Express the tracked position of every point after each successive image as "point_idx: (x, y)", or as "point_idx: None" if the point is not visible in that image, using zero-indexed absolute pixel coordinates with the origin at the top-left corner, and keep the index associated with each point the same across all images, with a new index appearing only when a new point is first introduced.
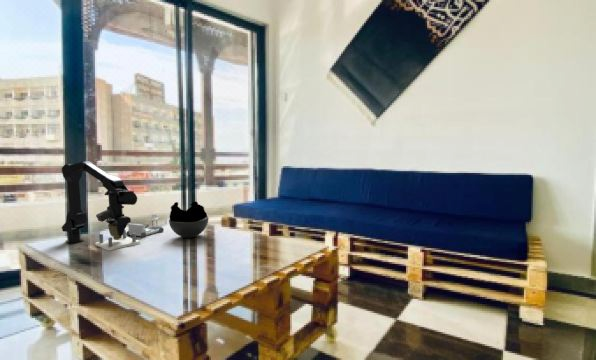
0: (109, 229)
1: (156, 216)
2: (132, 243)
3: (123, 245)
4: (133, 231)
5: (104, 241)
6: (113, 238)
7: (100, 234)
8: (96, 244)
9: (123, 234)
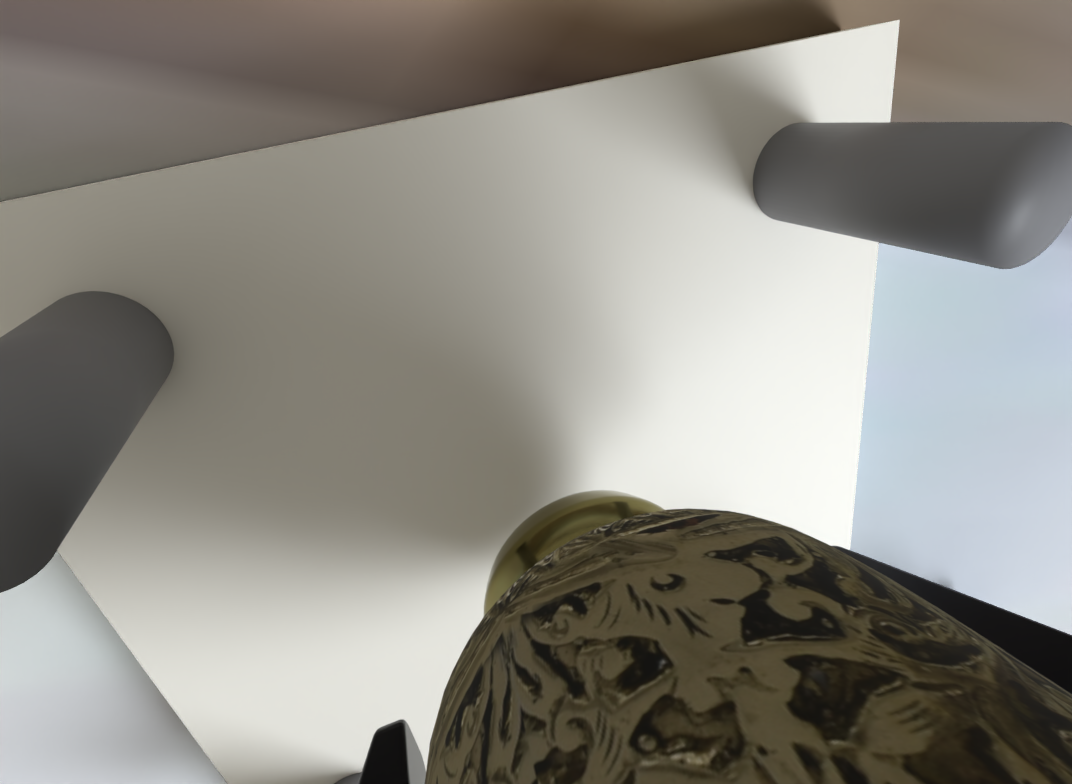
0: (783, 729)
1: None
2: (237, 774)
3: (134, 633)
4: None
5: (816, 254)
6: (578, 506)
7: (1042, 179)
8: (810, 37)
9: None
